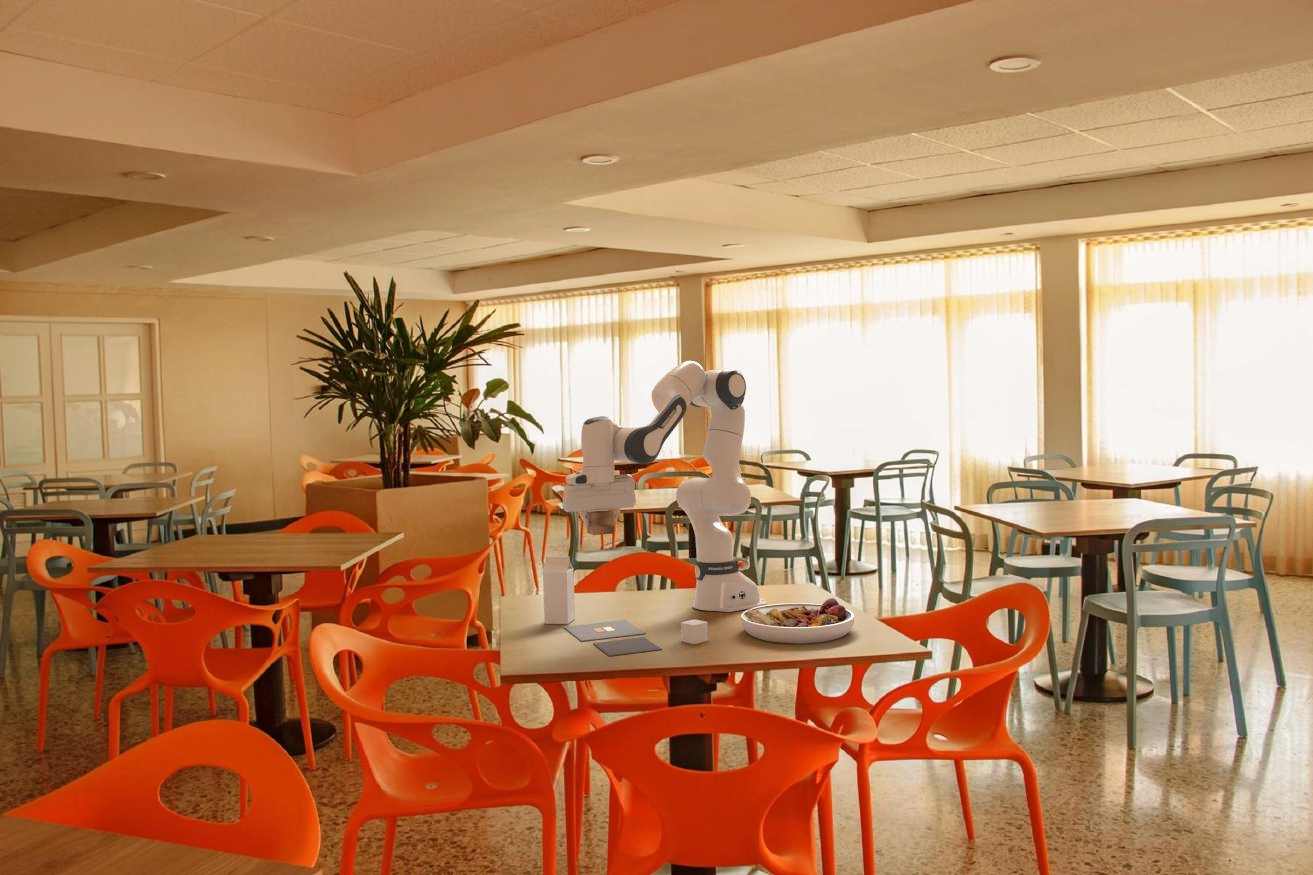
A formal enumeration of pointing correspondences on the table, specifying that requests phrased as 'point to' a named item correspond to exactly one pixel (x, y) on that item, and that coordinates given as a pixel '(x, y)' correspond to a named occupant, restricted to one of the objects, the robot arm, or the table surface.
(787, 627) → the bowl
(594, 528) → the walnut block
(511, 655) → the table surface
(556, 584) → the milk carton
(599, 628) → the tile
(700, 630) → the beige block
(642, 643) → the mat
